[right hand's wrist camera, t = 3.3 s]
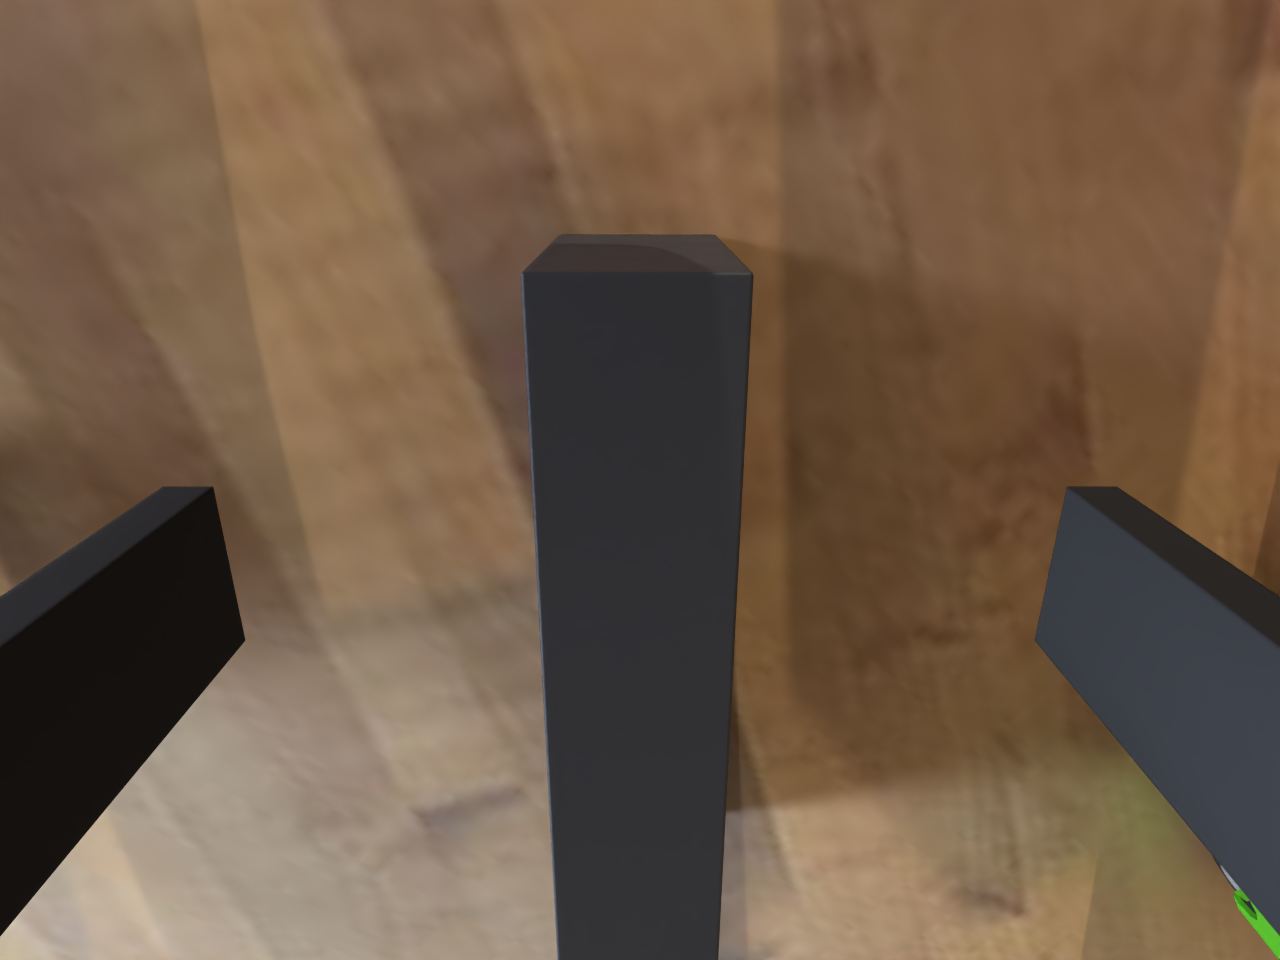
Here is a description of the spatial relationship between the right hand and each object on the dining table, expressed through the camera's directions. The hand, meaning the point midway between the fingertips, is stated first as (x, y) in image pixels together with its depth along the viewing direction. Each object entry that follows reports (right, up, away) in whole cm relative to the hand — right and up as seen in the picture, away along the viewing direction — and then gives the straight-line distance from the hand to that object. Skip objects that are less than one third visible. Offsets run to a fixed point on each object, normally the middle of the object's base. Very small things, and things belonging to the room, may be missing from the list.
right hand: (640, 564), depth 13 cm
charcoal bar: (0, -2, +17) cm, 17 cm away
